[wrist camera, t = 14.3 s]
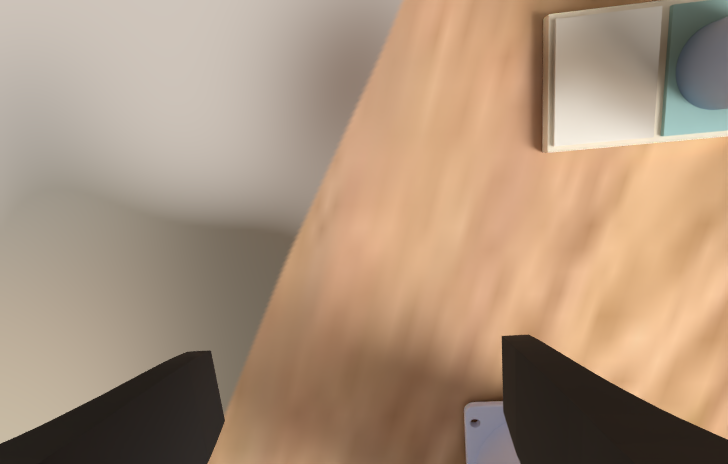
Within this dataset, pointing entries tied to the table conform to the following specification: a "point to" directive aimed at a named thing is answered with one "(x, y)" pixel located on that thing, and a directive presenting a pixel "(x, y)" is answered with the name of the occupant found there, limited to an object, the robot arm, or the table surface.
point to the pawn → (705, 67)
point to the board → (623, 76)
